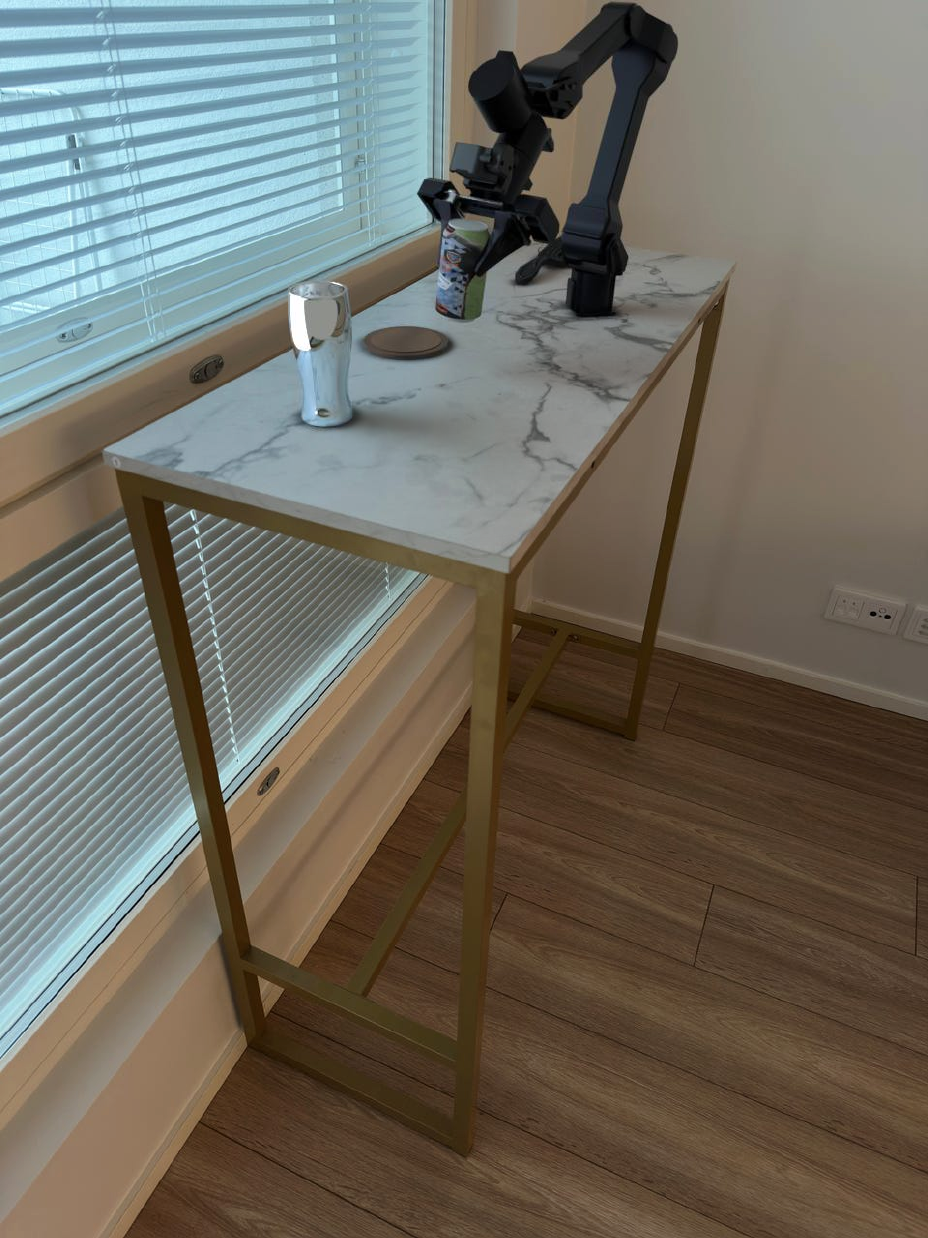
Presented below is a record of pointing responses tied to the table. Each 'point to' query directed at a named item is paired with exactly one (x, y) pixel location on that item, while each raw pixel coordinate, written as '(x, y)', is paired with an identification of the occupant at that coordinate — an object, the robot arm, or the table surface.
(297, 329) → the beer glass
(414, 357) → the coaster
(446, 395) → the table surface
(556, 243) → the hairbrush
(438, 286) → the beverage can
